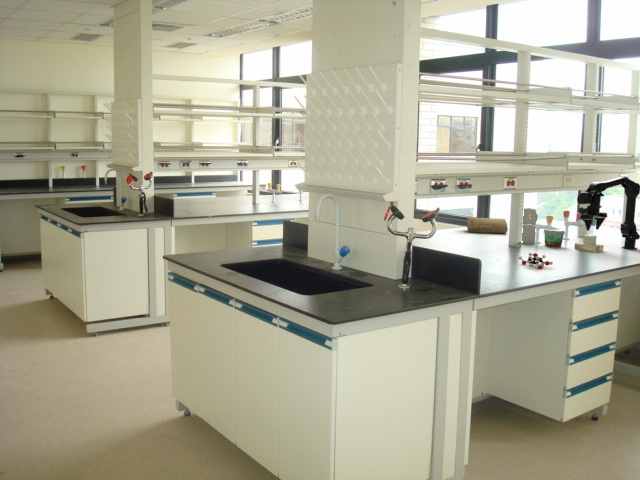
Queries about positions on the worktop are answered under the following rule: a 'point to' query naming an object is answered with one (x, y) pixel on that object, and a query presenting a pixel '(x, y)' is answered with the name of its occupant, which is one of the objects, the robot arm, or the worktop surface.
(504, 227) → the core sample
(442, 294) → the worktop surface
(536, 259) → the molecular model
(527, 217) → the grey tall slab
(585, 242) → the sage cube
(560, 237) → the food container
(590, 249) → the birch block
